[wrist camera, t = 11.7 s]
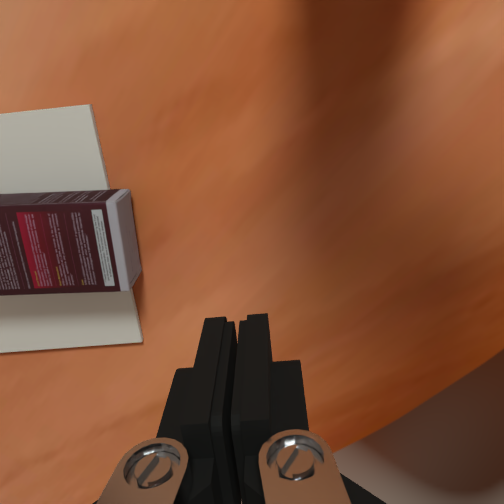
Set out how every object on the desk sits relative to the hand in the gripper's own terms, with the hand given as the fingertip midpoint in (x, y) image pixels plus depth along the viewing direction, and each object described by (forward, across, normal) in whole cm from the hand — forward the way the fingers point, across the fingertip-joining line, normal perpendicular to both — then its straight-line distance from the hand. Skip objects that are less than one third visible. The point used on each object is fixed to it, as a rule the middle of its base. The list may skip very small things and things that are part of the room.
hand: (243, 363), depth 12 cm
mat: (+31, +22, +6) cm, 39 cm away
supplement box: (+28, +12, +6) cm, 31 cm away
